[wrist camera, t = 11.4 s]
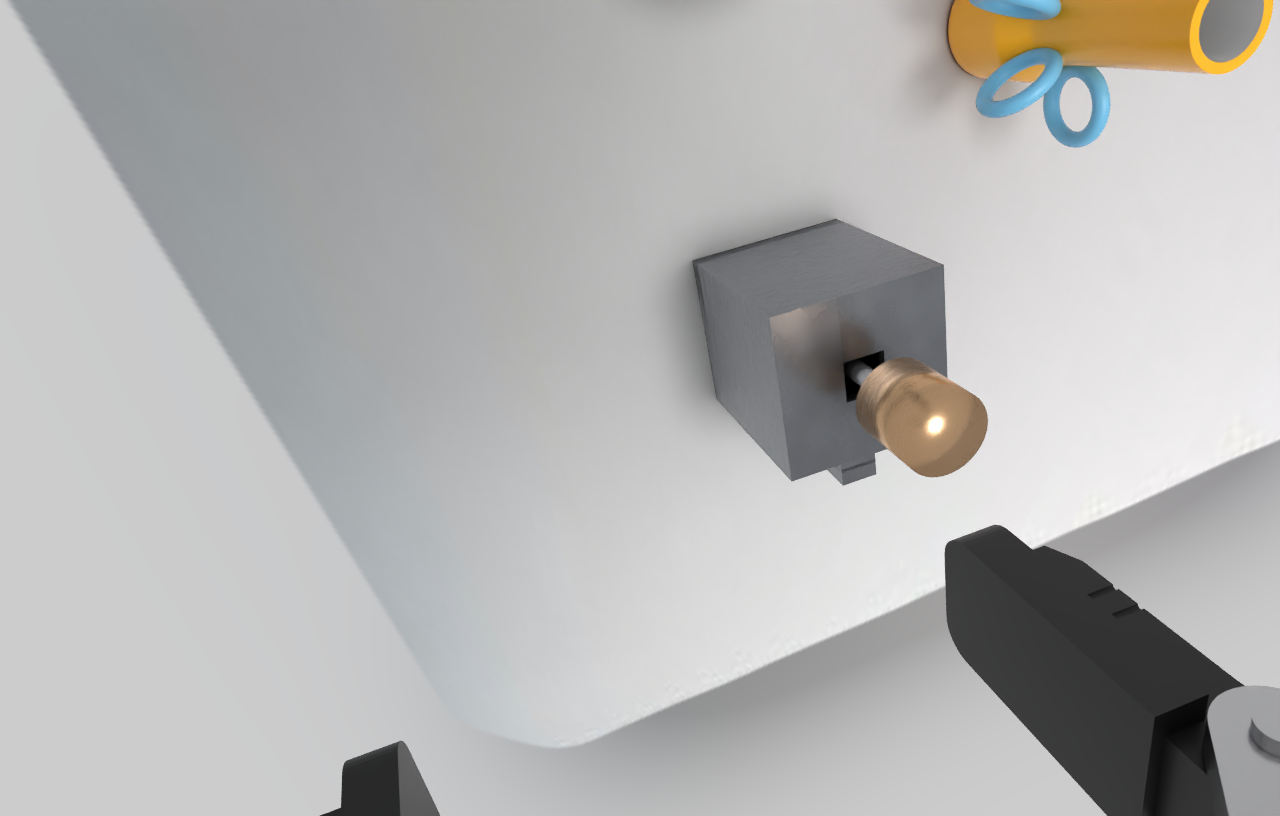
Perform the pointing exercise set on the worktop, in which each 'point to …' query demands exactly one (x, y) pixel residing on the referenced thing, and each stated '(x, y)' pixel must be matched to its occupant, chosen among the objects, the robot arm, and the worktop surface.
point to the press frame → (815, 337)
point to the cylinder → (1095, 47)
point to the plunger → (918, 414)
